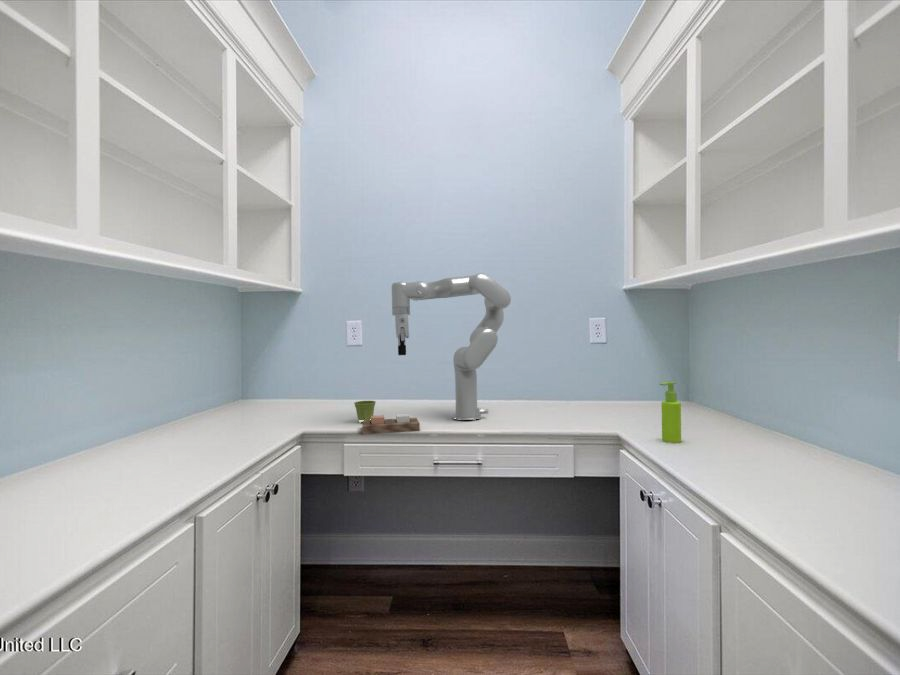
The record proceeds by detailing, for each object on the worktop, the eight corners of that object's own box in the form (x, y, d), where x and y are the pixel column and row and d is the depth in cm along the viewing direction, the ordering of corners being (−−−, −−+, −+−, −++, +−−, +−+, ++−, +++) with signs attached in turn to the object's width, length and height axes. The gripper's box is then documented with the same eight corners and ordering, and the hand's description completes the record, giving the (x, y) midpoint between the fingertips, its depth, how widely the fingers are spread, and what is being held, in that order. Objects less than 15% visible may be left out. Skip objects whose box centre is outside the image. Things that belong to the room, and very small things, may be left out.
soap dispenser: (655, 440, 157) (654, 381, 156) (671, 438, 159) (670, 380, 159) (669, 444, 151) (668, 383, 151) (685, 441, 154) (684, 382, 153)
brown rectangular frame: (416, 424, 191) (416, 417, 191) (419, 430, 179) (419, 423, 179) (362, 427, 187) (362, 420, 187) (362, 434, 175) (362, 426, 175)
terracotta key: (384, 424, 185) (383, 415, 185) (384, 427, 180) (384, 417, 180) (371, 425, 184) (371, 415, 184) (371, 428, 179) (371, 418, 179)
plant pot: (369, 424, 193) (369, 404, 193) (350, 423, 196) (349, 403, 196) (380, 420, 202) (379, 400, 202) (361, 419, 205) (360, 400, 205)
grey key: (408, 423, 187) (408, 413, 187) (409, 426, 182) (409, 416, 182) (396, 424, 186) (396, 414, 186) (397, 426, 181) (397, 416, 181)
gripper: (411, 310, 187) (412, 355, 187) (408, 312, 201) (409, 354, 202) (393, 311, 185) (394, 356, 186) (391, 312, 200) (392, 354, 200)
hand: (402, 355), depth 194 cm, fingers closed
